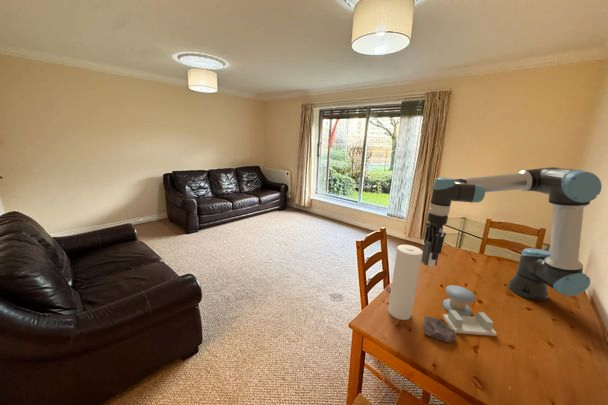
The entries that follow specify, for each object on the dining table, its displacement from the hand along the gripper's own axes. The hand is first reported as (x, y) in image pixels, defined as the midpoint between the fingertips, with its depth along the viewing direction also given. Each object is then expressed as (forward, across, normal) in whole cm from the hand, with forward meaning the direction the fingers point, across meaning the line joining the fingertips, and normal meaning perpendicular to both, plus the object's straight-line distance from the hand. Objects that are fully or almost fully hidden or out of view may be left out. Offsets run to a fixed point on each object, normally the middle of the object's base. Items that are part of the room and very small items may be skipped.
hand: (428, 262), depth 112 cm
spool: (+19, +6, +13) cm, 24 cm away
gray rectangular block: (0, 0, 0) cm, 0 cm away
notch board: (+19, +16, +12) cm, 28 cm away
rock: (+19, +22, -3) cm, 30 cm away
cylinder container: (+19, +11, -14) cm, 26 cm away
